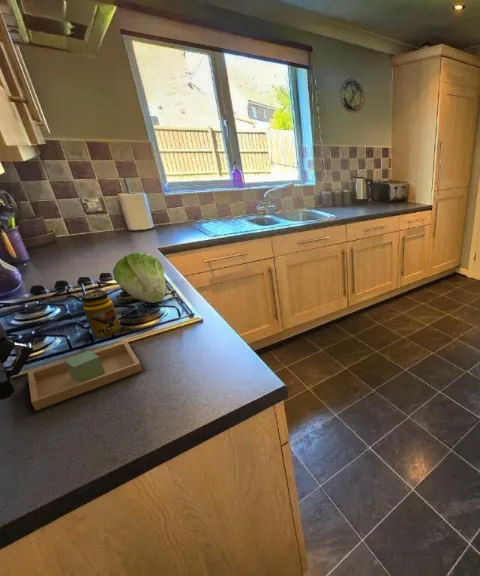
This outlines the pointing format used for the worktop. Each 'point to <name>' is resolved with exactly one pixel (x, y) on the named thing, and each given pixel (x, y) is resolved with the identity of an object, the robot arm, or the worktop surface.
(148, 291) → the lettuce
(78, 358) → the block
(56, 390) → the tray
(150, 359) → the worktop surface
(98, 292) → the condiment
